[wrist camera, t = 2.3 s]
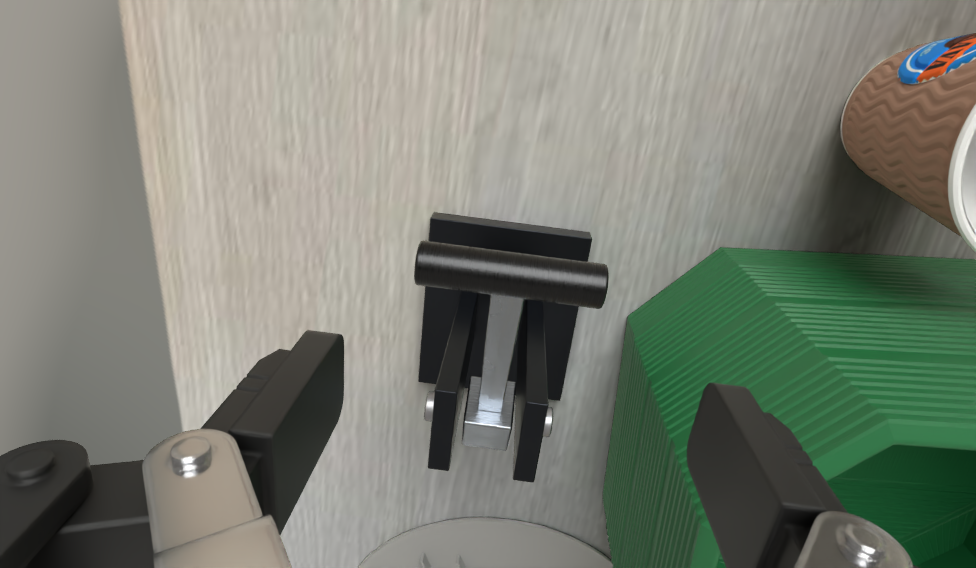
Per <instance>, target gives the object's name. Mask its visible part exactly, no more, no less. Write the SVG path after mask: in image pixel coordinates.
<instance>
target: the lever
mask: <svg viewBox="0 0 976 568" xmlns="http://www.w3.org/2000/svg"><path fill="white" fill-rule="evenodd" d="M414 278H415V283H416V284H417V285H421V286H428V287H436V288H444V289H451V290H459V291H467V292H474V293H482V294H489V295H491V298H490V307H489V315H488V324H487V332H486V341H485V349H484V358H483V366H482V375H481V377H475V376H471V377H470V381H469V388H468V394H467V401H466V408H465V415H464V421H463V435H462V444H463V445H467V446H474V447H481V448H489V449H496V450H503V451H505V450H506V449H507V446H508V442H509V438H510V434H511V430H512V423H513V412H514V401H515V391H516V382H512V381H508V378H509V373H510V368H511V363H512V358H513V353H514V348H515V343H516V338H517V333H518V328H519V323H520V319H521V314H522V309H523V304H524V299H528V300H535V301H543V302H551V303H558V304H566V305H573V306H581V307H589V308H596V309H600V308H601V307H602V306H603V304H604V301H605V298H606V294H607V288H608V268H607V265H605V264H599V263H591V262H583V261H576V260H568V259H560V258H553V257H545V256H537V255H529V254H522V253H514V252H506V251H499V250H491V249H483V248H475V247H468V246H460V245H452V244H445V243H437V242H429V241H421V242H420V244H419V247H418V250H417V255H416V261H415V272H414Z"/></svg>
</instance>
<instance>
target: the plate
mask: <svg viewBox="0 0 976 568" xmlns="http://www.w3.org/2000/svg"><path fill="white" fill-rule="evenodd" d="M358 568H613V563H612V561H611V560H610V559H609V558H607V557H606V556H605V555H604V554H602V553H601V552H599V551H598V550H596V549H594V548H593V547H591V546H589V545H587V544H586V543H584V542H582V541H580V540H578V539H576V538H574V537H571V536H569V535H566V534H564V533H562V532H559V531H556V530H553V529H551V528H548V527H545V526H541V525H537V524H532V523H528V522H523V521H517V520H511V519H501V518H481V517H474V518H461V519H453V520H445V521H440V522H436V523H432V524H428V525H424V526H421V527H417V528H414V529H412V530H409V531H407V532H405V533H403V534H400V535H398V536H396V537H395V538H393V539H391V540H389V541H387V542H386V543H384V544H383V545H381V546H380V547H378V548H377V549H376V550H375V551H373V552H372V553H371V554H370V555H368V556H367V557H366V558H365V559H364V561H363V562H362V563H361V564H360V565H359V566H358Z"/></svg>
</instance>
